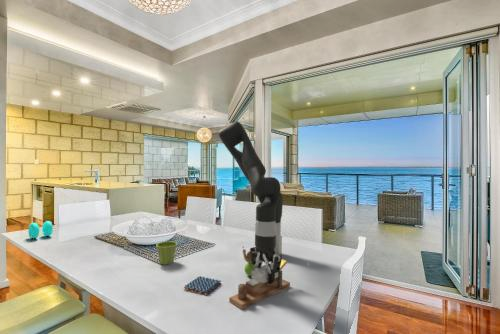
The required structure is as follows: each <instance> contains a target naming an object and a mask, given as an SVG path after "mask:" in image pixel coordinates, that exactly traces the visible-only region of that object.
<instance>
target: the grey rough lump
mask: <svg viewBox="0 0 500 334" xmlns="http://www.w3.org/2000/svg"><path fill="white" fill-rule="evenodd" d="M271 269H272V267H271ZM268 273H269V271H268V268H267V267H266V264H264V265H263V264H262V266H260V267H257V268H255V269H252V276H250V277H251V280H252V279H254V280H257V281H259V282H261V283H265V282H267V281H268ZM277 277H278V272H277V273H275V278H277Z"/></svg>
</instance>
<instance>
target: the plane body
mask: <svg viewBox="0 0 500 334" xmlns="http://www.w3.org/2000/svg"><path fill="white" fill-rule="evenodd" d="M237 287H238V288H237V289H238V290H237V292H238V293H237V294H234V295H232V296H230V297H229V300H228V301H229V303H230V304H232V305H233V306H235V307H236V308H237V309H240V310H243V309H246V308H247V307H249V306H253V305H254V304H257V303H258V302H260V301H263V300H265V299H267V298H269V297H271V296H273V295H275V294H277V293H280V292H282V291H284V290H286V289H288V288H290V287H291V283H290V281H288V280H285V279H283V269H281V270H280V271H279V274H278V277H277V278H275V281H274V283H272V284H268V281H267V282H265V283H261V282H259V281H257V280H254V279H252V278H251V279H250V280H247V281H245V283H240V284H238V286H237Z"/></svg>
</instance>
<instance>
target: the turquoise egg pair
mask: <svg viewBox="0 0 500 334" xmlns="http://www.w3.org/2000/svg"><path fill="white" fill-rule="evenodd" d="M52 223H53V222H52V221H50V220H45V222H43V224H42V227H41V231H42V235H43V236H44V235H45V236H44V237H46V236H49V237H51V236H52V235H53V231H54V226H53V224H52ZM39 234H40V226H39V225H38V223H36V222H31V223H30V224H29V226H28V237H29V239H31V238H36V239H37V238H38V237H39ZM50 235H51V236H50Z"/></svg>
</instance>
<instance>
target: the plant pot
mask: <svg viewBox="0 0 500 334" xmlns="http://www.w3.org/2000/svg"><path fill="white" fill-rule="evenodd" d="M177 245H178V242H177V241H173V240H172V241H170V240H169V241H161V242H159V243H158V242H157V243H156V245H155V246H156V249H157V252H158V258H159V259H158V260H159V265H163V266H164V265H171V264H173V263H174V261H175V260H174V259H175V254H176V248H177Z"/></svg>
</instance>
